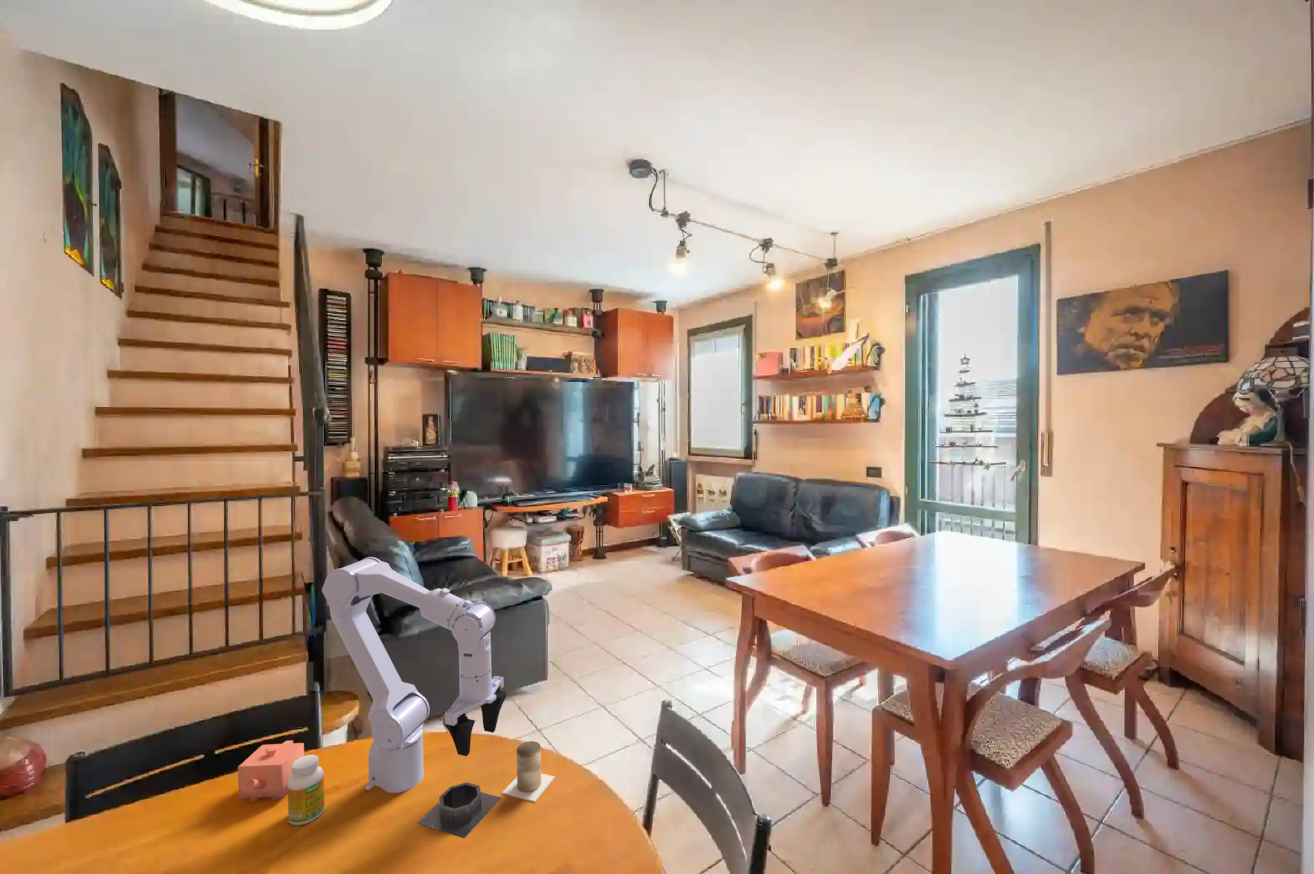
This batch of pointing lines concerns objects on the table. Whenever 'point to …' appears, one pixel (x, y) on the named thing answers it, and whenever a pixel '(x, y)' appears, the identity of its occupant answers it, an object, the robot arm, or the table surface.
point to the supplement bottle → (305, 790)
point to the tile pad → (529, 796)
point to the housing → (459, 809)
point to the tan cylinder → (528, 766)
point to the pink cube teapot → (268, 771)
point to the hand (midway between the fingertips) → (476, 742)
